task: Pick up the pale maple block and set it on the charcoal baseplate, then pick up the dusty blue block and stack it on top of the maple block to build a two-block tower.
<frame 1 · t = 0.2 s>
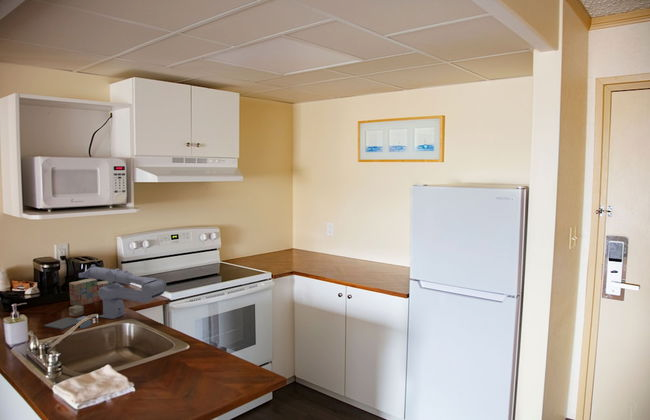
hand: (80, 270, 235), 21 cm above the table, tool horizontal, fingers open, 7 cm apart
blue block: (83, 326, 215), on the table
maple block: (76, 314, 232), on the table
baseplate: (64, 323, 218), on the table
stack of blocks: (92, 301, 255), on the table
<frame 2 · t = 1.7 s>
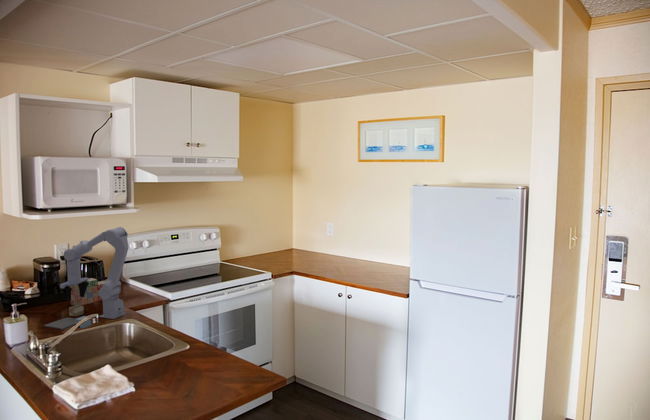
hand: (75, 298, 231), 8 cm above the table, tool pointing down, fingers open, 7 cm apart
nothing on the table moved.
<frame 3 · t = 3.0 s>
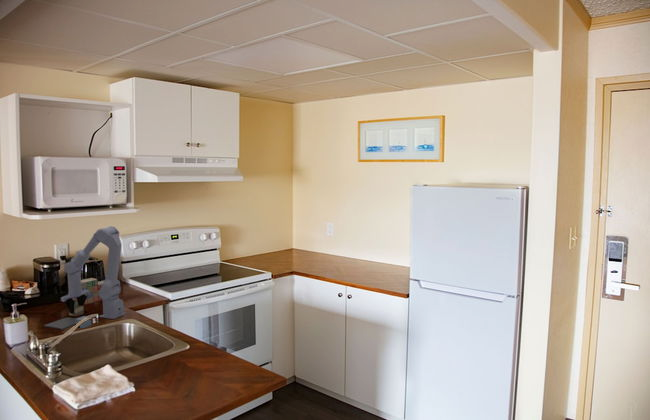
hand: (76, 311, 232), 1 cm above the table, tool pointing down, fingers closed on maple block, 4 cm apart
maple block: (76, 314, 232), on the table, touching gripper
everything else where it was.
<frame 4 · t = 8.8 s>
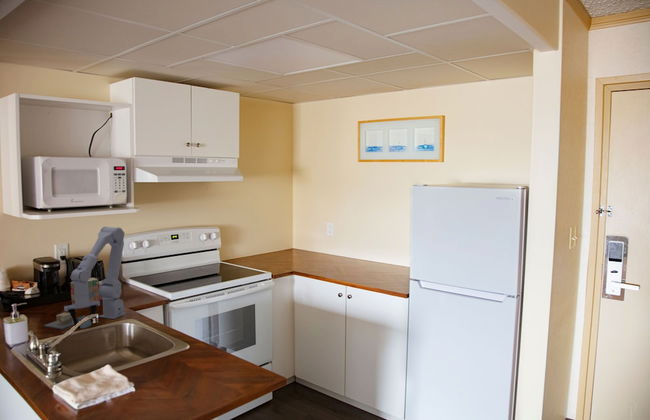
hand: (83, 323, 215), 1 cm above the table, tool pointing down, fingers closed on blue block, 6 cm apart
blue block: (83, 326, 215), on the table, touching gripper
maple block: (64, 322, 218), point 1 cm above the table, touching baseplate
when the fingers open (7 cm above the table, at t = 11.8 s): blue block stays where it is, resting on maple block.
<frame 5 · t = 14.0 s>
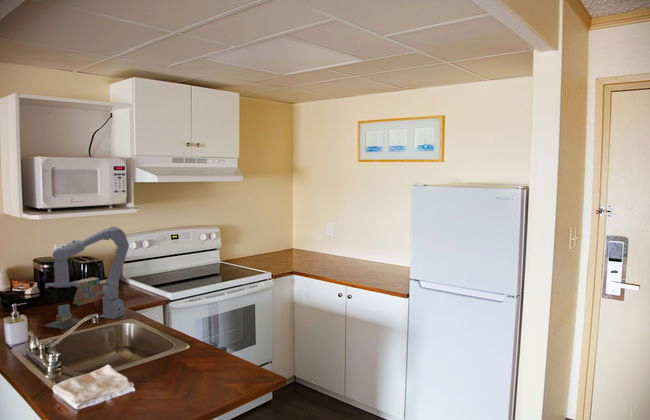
hand: (63, 302, 217), 10 cm above the table, tool pointing down, fingers open, 7 cm apart
blue block: (64, 314, 218), point 5 cm above the table, touching maple block
maple block: (64, 322, 218), point 1 cm above the table, touching baseplate, blue block
at the end: maple block 0.1 cm off-centre on the baseplate, point 0.6 cm above the baseplate's base; blue block 0.2 cm off-centre on the maple block, point 4.0 cm above the maple block's base; blue block tilted 0° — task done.
